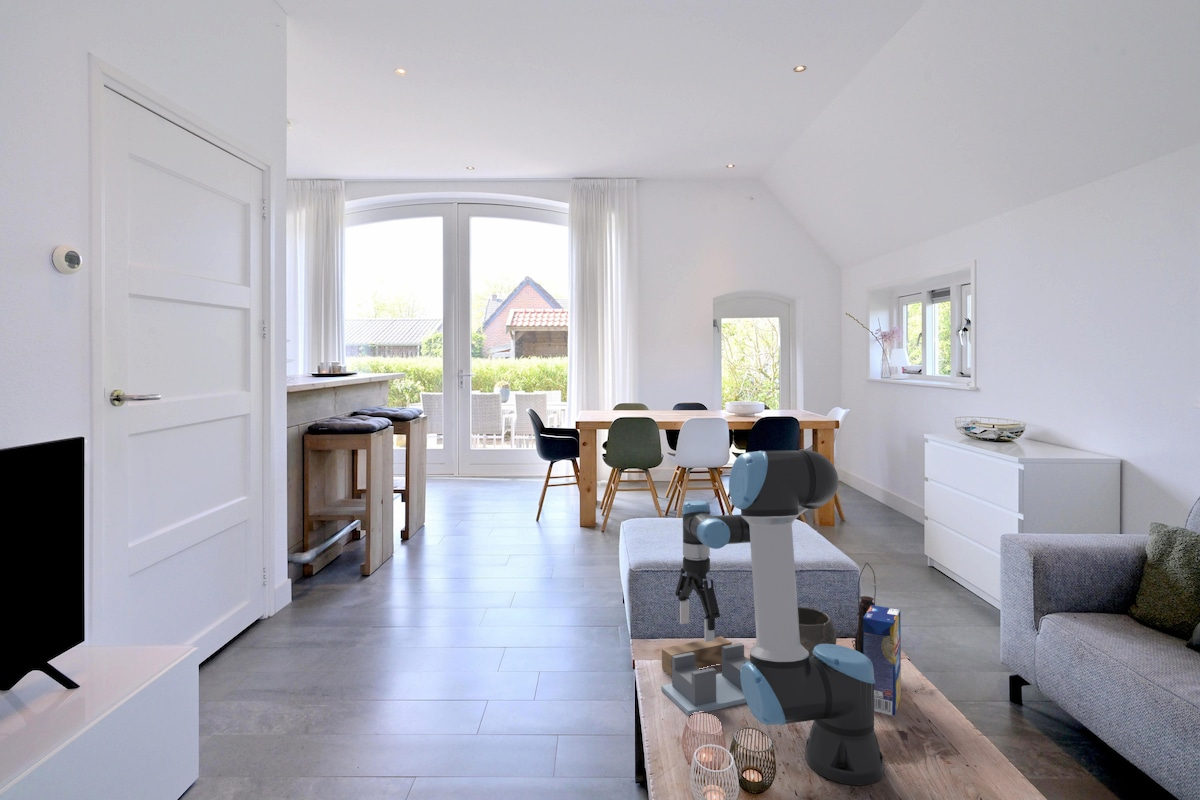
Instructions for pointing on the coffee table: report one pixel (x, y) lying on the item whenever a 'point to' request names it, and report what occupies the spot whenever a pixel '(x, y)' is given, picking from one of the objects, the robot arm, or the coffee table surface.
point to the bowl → (815, 629)
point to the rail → (696, 653)
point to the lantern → (863, 608)
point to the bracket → (707, 682)
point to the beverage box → (884, 655)
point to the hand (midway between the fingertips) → (696, 631)
